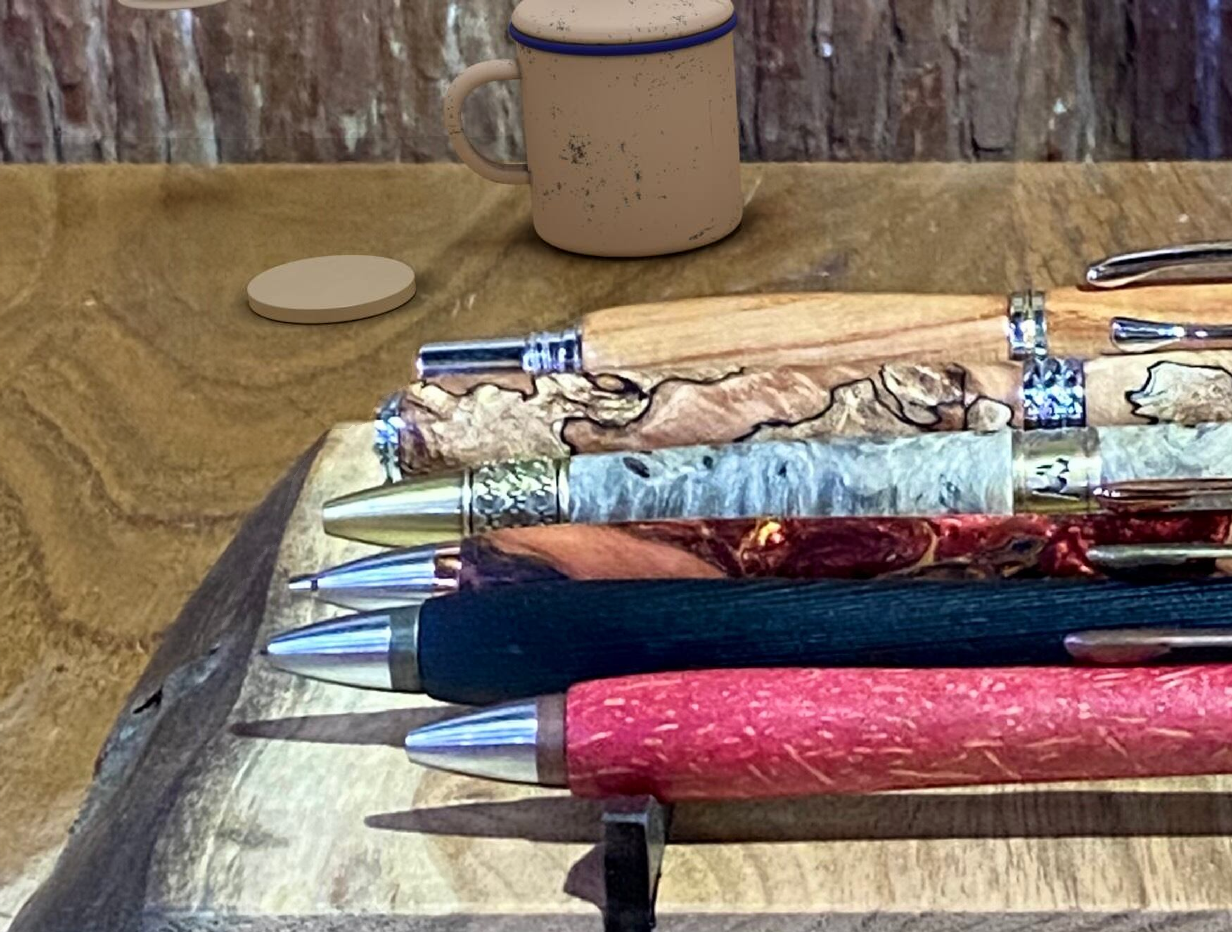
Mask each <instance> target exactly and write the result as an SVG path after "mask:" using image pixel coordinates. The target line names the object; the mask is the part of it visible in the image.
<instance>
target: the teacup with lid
mask: <svg viewBox="0 0 1232 932" xmlns="http://www.w3.org/2000/svg"><path fill="white" fill-rule="evenodd" d="M738 18H739V17H738V14H737V11H735V7H734V4H733V1H732V0H521V1H520V2H519V3H518V4H517V5H516V6H515V8H514V9H513V12H512V14H511V22H510V23H509V26H508V33H509V35H510V37H511V39H513V41H515V43H516V53H517V58H503V59H491V60H485V61H481V62H478V63H475V64H472V65H470V66H469V67H467V68H465V69H464V70H462V71H461V72H460V73H459V74H458V75H457V76H456V77H455V78H454V80H452V82H451V83H450V85H449V86H448V88H447V90H446V93H445V97H444V101H443V118H444V120H443V121H444V124H445V129H446V132H447V135H448V138H449V141H450V143H451V145H452V147H453V149H454V150H455V152H456V153H457V155H458V157H459V158H460V160H461V161H462V162H463V163H464V164H465V165H466V166H467V168H469V169H470V170H471V171H472V172H474V173H475V174H477V175H478V176H479V177H481V178H483V179H485V180H488V181H490V182H492V183H497V184H503V185H514V186H516V185H518V186H519V185H529V190H530V200H531V201H530V202H531V212H532V223H533V226H534V227H533V228H534V229H535V231H536V233H537V235H538V236H539V237H540V238H541V239H542V240H543V241H545V243H547V244H549V245H551V246H552V247H555V248H558V249H561V250H564V251H566V252H570V253H576V254H580V255H587V256H595V257H605V258H608V257H609V258H639V257H652V256H662V255H669V254H675V253H679V252H680V253H681V252H685V251H690V250H693V249H697V248H700V247H704V246H706V245H710V244H713V243H715V242H717V241H720V240H721V239H723V238H725V237H727V236H728V235H729V234H731V233H732V232H733V231H734V230H736V228H737V227H738V226H739V224H740V223H741V221H742V218H743V213H744V211H743V210H744V209H743V208H744V207H743V194H742V193H743V192H742V175H741V160H740V159H741V158H740V140H739V139H740V138H739V124H738V107H737V106H738V104H737V87H736V70H735V52H734V36H733V35H734V34H733V30H734V29H735V28H736V26H737V25H738V21H739V19H738ZM510 80H513V81H515V80H519V85H520V86H519V88H520V97H521V107H522V117H523V126H524V128H523V129H524V139H525V149H526V160H527V162H525V163H506V162H499V161H495V160H492V159H490V158H488V157H487V156H485V155H483V154H482V153H481V152H480V151H479V150H477V148H475V146H474V145H473V143H471V140H469V138H468V136H467V134H466V133H465V130H464V127H463V120H462V113H463V107H464V102H465V100H466V99H467V97H468V96H469V95H470V94H471V93H472V92H473V91H474V90H475V89H476V88H478V87H480V86H482V85H484V84H487V83H491V82H497V81H510Z"/></svg>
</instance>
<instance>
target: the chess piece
mask: <svg viewBox="0 0 1232 932" xmlns="http://www.w3.org/2000/svg"><path fill="white" fill-rule="evenodd" d="M228 1H229V0H117V2H118V4H120V5H122V6H123V7H125V8H126V7H127V8H130V9H136V10H143V11H144V10H147V11H176V10H189V9H197V8H204V7H210V6H214V5H218V4H222V3H225V2H228Z"/></svg>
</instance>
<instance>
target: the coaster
mask: <svg viewBox="0 0 1232 932" xmlns="http://www.w3.org/2000/svg"><path fill="white" fill-rule="evenodd" d="M416 291H417V282H416V274H415V272H414V270H413V268H411V266H409V265H407V263H404V262H402V261H400V260H396V259H392V258H388V257H383V256H377V255H365V254H338V255H336V254H335V255H325V256H316V257H309V258H304V259H299V260H295V261H290V262H286V263H284V264H280V265H277V266H275V267H271V268H269V269H267V270H265V271H263V272H260V273H259V274H257V275H256V276H254V277H253V278H252V279H251V280H250V281H249V283H248V284H247V288H246V294H247V300H248V305H249V307H250V309H251V310H252V311H253V312H254V313H256V314H257V315H259V316H261V317H264V318H266V319H271V320H274V321H279V322H285V323H286V322H287V323H296V324H329V323H341V322H347V321H348V322H349V321H355V320H360V319H365V318H369V317H370V318H371V317H373V316H377V315H381V314H384V313H386V312H390V311H392V310H394V309H396V308H398V307H401V306H402V305H404V304H407V302H408V301H410V300H411V299H412V298H413V297H414V295H415V294H416Z"/></svg>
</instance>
